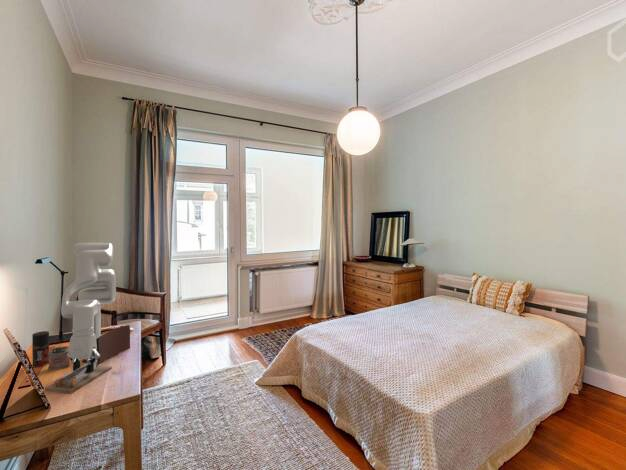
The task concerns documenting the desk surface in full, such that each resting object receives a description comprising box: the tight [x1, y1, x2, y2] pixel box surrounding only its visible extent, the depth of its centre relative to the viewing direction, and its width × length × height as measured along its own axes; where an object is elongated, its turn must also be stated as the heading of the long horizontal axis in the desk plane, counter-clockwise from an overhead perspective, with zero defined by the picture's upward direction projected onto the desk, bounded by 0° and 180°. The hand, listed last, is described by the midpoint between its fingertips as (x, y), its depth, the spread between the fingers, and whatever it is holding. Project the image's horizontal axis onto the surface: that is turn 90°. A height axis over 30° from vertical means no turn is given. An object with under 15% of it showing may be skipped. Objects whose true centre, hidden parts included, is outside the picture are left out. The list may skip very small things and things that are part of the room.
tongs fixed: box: [55, 360, 98, 387], centre depth 133 cm, size 18×2×3 cm, turn 174°
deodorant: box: [31, 330, 50, 368], centre depth 145 cm, size 6×6×15 cm
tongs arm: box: [70, 362, 96, 387], centre depth 132 cm, size 16×1×3 cm, turn 7°
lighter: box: [47, 345, 71, 371], centre depth 142 cm, size 8×3×10 cm, turn 114°
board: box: [44, 364, 113, 394], centre depth 133 cm, size 21×12×1 cm, turn 174°
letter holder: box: [81, 324, 131, 365], centre depth 157 cm, size 10×20×14 cm, turn 170°
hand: (83, 371), depth 135 cm, fingers open, 5 cm apart
